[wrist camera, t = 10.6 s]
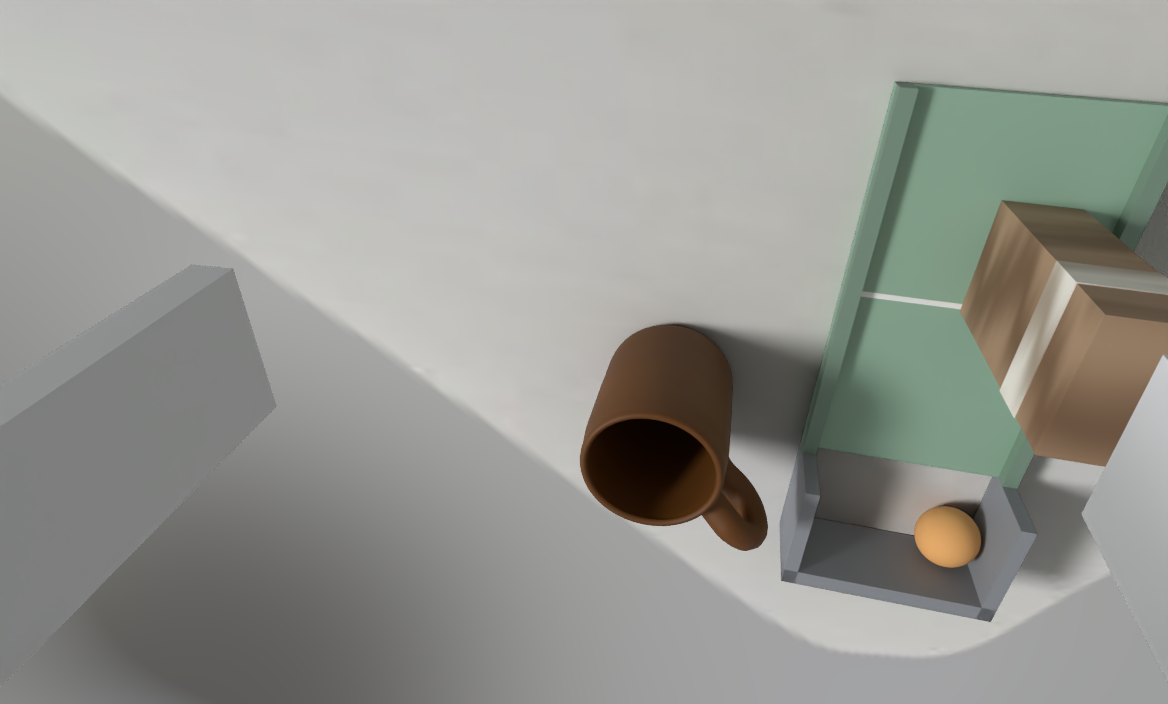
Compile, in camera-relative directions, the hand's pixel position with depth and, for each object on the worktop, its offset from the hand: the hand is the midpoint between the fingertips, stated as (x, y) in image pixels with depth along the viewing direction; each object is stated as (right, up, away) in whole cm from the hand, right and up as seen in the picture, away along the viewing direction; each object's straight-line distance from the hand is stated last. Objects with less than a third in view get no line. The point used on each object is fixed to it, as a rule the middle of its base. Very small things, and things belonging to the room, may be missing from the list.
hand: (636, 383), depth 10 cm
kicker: (+21, +5, +24) cm, 32 cm away
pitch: (+19, 0, +28) cm, 34 cm away
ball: (+21, -11, +32) cm, 40 cm away
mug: (+6, -2, +33) cm, 34 cm away
